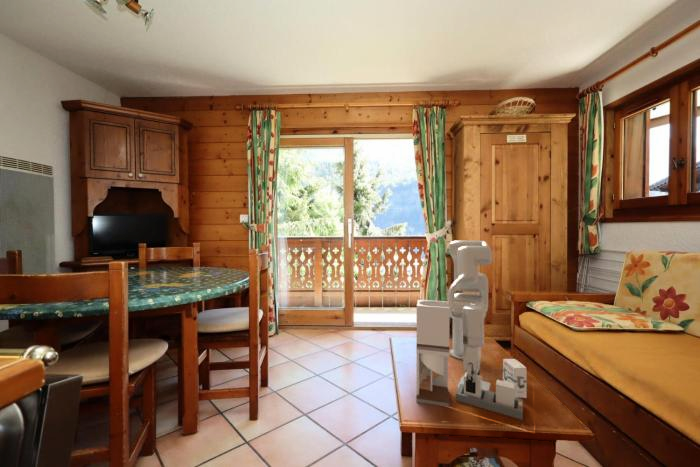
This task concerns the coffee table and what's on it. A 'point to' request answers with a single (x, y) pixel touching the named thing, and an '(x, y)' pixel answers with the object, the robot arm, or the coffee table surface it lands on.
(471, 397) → the power strip
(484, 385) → the mat
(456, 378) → the coffee table surface
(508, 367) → the ink box
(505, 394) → the off-white rectangular block
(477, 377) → the plug
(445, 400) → the display case
